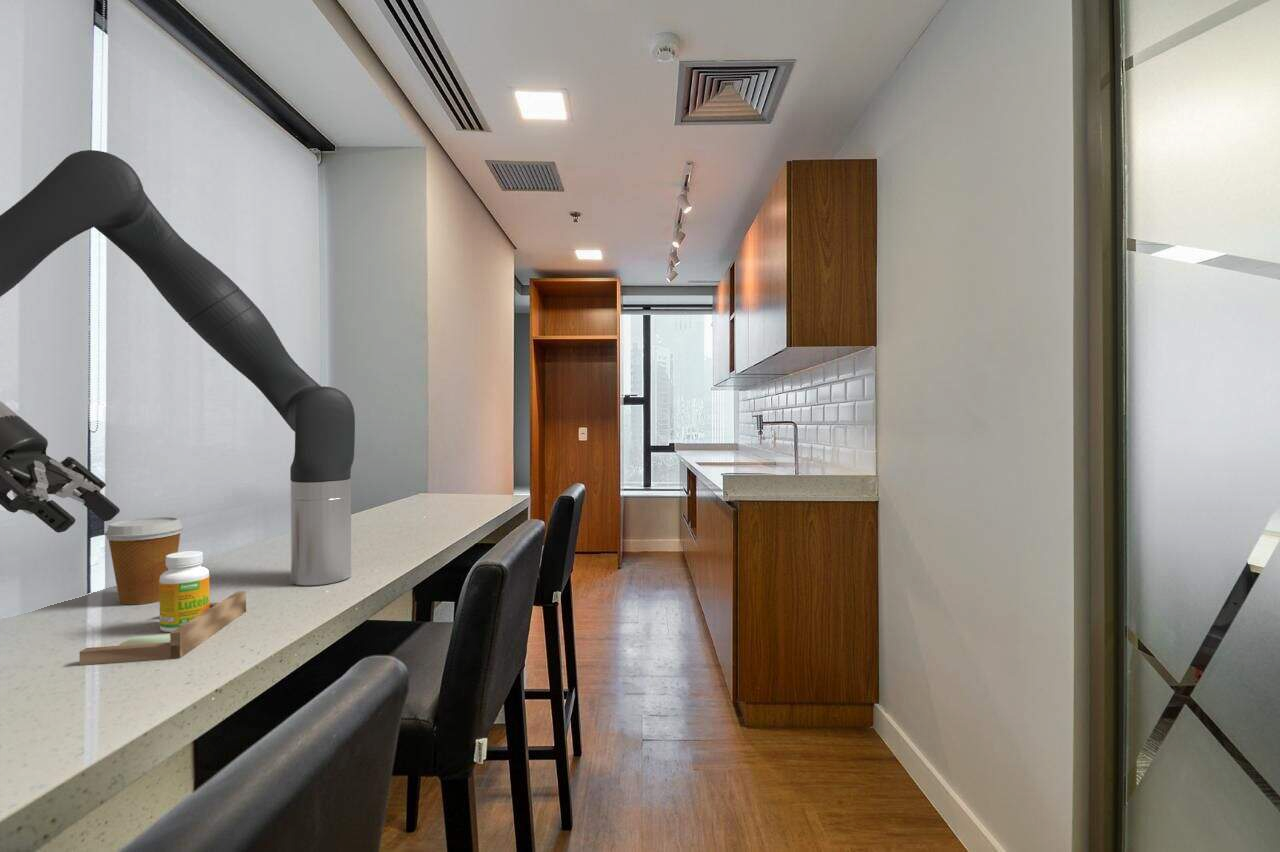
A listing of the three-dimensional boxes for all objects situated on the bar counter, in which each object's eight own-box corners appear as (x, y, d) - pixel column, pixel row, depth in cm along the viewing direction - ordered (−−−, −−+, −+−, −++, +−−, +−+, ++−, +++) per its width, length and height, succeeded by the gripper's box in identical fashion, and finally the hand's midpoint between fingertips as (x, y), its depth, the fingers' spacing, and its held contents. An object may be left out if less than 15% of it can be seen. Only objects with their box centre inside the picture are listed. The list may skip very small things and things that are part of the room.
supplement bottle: (177, 635, 78) (176, 560, 78) (150, 630, 80) (149, 556, 80) (219, 622, 83) (218, 551, 83) (192, 617, 85) (191, 548, 85)
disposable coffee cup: (140, 610, 88) (139, 528, 88) (88, 606, 90) (87, 525, 90) (200, 592, 98) (199, 517, 98) (151, 588, 100) (150, 515, 99)
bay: (166, 615, 86) (166, 594, 86) (246, 611, 88) (245, 590, 88) (79, 664, 69) (79, 638, 69) (180, 657, 71) (179, 632, 71)
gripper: (-40, 413, 71) (76, 508, 73) (52, 413, 85) (147, 494, 87) (-95, 459, 70) (25, 554, 72) (8, 452, 84) (105, 532, 86)
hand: (92, 521), depth 79 cm, fingers open, 8 cm apart
